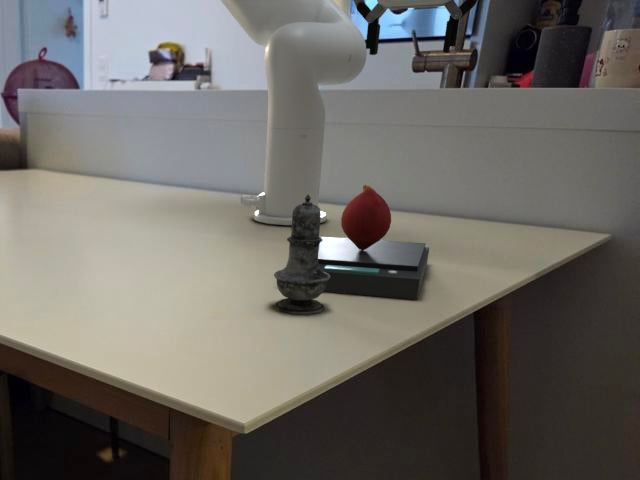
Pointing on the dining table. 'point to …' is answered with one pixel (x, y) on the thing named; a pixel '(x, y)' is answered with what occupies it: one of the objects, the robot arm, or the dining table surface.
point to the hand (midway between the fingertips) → (409, 53)
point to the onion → (366, 218)
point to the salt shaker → (302, 264)
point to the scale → (373, 267)
